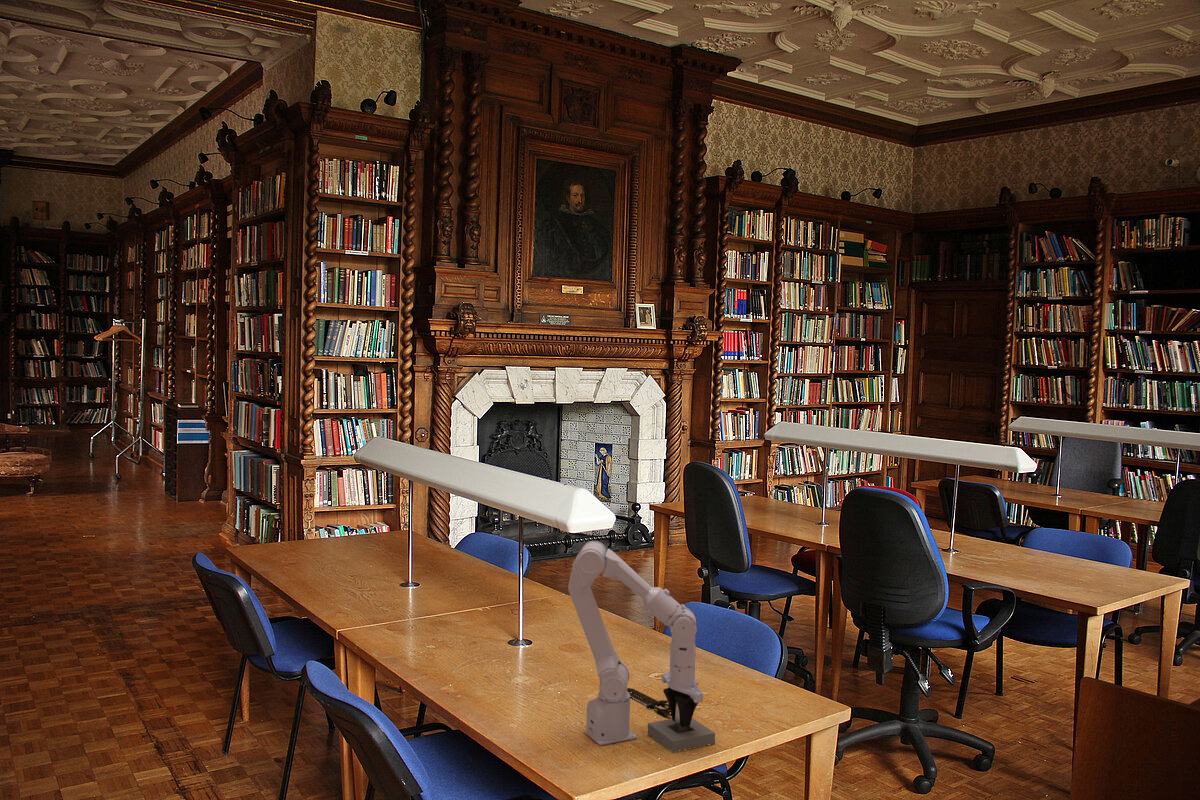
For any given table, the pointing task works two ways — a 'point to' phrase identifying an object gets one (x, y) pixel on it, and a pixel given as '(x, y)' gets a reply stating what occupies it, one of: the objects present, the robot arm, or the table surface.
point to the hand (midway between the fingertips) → (681, 723)
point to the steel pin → (677, 722)
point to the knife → (650, 702)
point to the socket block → (680, 735)
